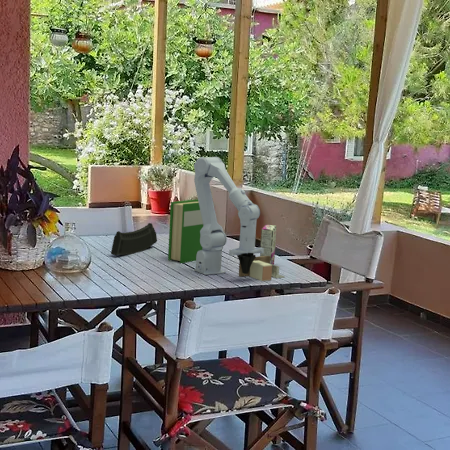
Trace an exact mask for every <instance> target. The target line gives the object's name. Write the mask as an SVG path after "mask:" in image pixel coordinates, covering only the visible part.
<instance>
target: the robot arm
mask: <svg viewBox="0 0 450 450" xmlns="http://www.w3.org/2000/svg"><path fill="white" fill-rule="evenodd" d="M193 168H194V179H193V181H194V186H195V187H194V188H195V191H196V195H197V199H198V202H199V206H200V211H201V216H202V221H203V227H202V229H201V230H200V244H201V246H202V247H203V250H200V251H198V252H197V255H196V261H195V268H194V271H195V272H198V273H199V274H202V275H206V276H207V275H218V274H226V271H225V270H222V258H223V249H224V246H225V245H226V244H227V242H228V241H227V240H228V237H227V235H226V233H225V232H224V229H223V226H222V225H221V224H219V223H218V219H217V214H216V213H217V212H216V209H215V205H214V199H213V194H212V191H211V185H210V183H211V181H212V180H213V178H216V179H218V181H219V183H220V184H222V186H223V187H224V188H225V189H226V191H227V193H228V194H229V195H228V198H229V200H230V201H231V203H232V204H233V206H234V207H235V208H236V209H237V215H238V218H239V220H240V221H239V223H240V227H239V228H240V229H239V230H240V232H239V245H238V247H237V248H233V249H229V251H228V255H229V256H231V257H234V256H237V258H238V261H239V262H240V264H241V268H242V273H244V274H248V273H249V269H250V267H251V264H252V262H253V261H254V259H255V257H257V256H256V254H260V253H264V248H261V246H260V247H256V237H257V234H256V232H257V231H256V230H257V222H258V221H257V220H258V219H259V217H260V215H261V210H260V207H259V205H258V204H255V203H253V202H252V200H250V198H249V197H248V195H247V194H246V191H245V190H244V189H242V188H241V187H237V186H236V183H235V182H234V180H233V179H232V178H231V176H230V174H229V173H228V171H227V169H226V165H225V162H224V161H223V160H222V159H221V158H220V157H218V156H210V157H208V156H206V157H203V156H201V157H199V158H197V159H196V161H195V163H194V164H193Z"/></svg>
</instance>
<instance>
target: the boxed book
mask: <svg viewBox="0 0 450 450" xmlns="http://www.w3.org/2000/svg"><path fill="white" fill-rule="evenodd" d="M271 275H272V265H271V264H268V263H265V262H262V261H259V260H258V261H253V262H252V264H251V267H250V276H249V277H250V278H253V279H255V280H257V281H261V282H269V281H272V276H271Z"/></svg>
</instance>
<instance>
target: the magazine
mask: <svg viewBox="0 0 450 450" xmlns="http://www.w3.org/2000/svg"><path fill="white" fill-rule="evenodd" d="M157 236H158V235H157V232H156V230H155V227H154V225H153V223H152V222H151V223H150V222H149V223H147V225H145V226H143V227H142V228H140V229H136V230H133V231H127V232H121V231H118V230H117V231H116V233H115V235H114V237H113V242H112V246H111V251H110V255H114V256H121V255H123V256H125V255H133V254H137V253H140V252H143V251H145V250H147V249H151V248H152V246H153V245H155V244H156V243H157V242H158V238H157Z"/></svg>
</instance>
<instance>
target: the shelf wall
mask: <svg viewBox="0 0 450 450" xmlns="http://www.w3.org/2000/svg"><path fill="white" fill-rule="evenodd" d="M258 260H259V261H262V262H265V263H270V256H260V255H259V256H256V257H255V259H254V261H258ZM238 268H239V269H238V277H240V278H242V277H250V269H249V273H248V274H244V273H242V268H241V264H240V261H239V264H238Z"/></svg>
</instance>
